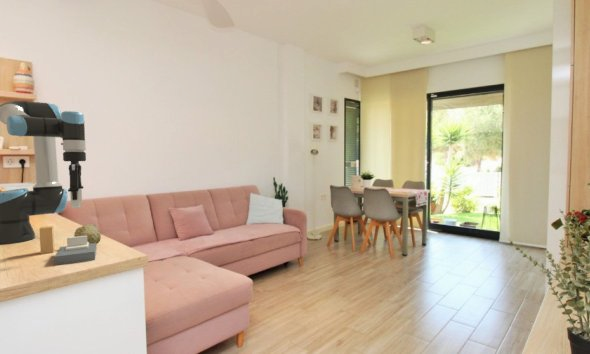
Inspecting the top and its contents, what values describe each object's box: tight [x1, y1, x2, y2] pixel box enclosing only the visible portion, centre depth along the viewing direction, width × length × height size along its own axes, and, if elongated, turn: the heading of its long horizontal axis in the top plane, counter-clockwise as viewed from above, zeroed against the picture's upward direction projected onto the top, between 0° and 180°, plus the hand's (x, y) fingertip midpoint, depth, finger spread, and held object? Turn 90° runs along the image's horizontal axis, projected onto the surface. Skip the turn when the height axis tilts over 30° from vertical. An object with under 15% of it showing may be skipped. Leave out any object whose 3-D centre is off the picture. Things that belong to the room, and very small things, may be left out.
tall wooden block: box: [39, 225, 56, 255], centre depth 134 cm, size 4×4×10 cm
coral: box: [73, 222, 102, 245], centre depth 143 cm, size 10×10×10 cm
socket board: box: [54, 243, 97, 266], centre depth 127 cm, size 15×12×3 cm
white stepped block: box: [66, 236, 89, 251], centre depth 129 cm, size 7×7×4 cm
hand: (76, 206), depth 134 cm, fingers open, 11 cm apart
